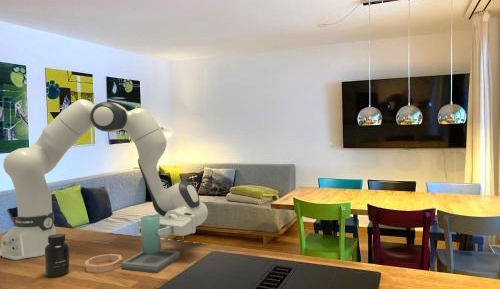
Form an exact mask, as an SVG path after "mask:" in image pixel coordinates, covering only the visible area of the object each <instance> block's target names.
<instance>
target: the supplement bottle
mask: <svg viewBox="0 0 500 289" xmlns="http://www.w3.org/2000/svg"><path fill="white" fill-rule="evenodd" d="M48 243H49V244H48V245H47V246H46V247H45V255H44V270H45V272H44V273H45V276H46V277H48V278H57V277H63V276H65V275H67V274H68V273H70V271H71V270H70V269H71V268H70V267H71V266H70V265H71V263H70V260H71V259H70V245H69V243H68V242H66V234H65V233H56V234H54V235H50V236H48Z"/></svg>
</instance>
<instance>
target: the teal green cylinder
mask: <svg viewBox="0 0 500 289" xmlns="http://www.w3.org/2000/svg"><path fill="white" fill-rule="evenodd" d="M159 217H160V215H153V214H152V215H145V216H142V217H140V219H141V233H140V234H141V236H140V237H141V252H143V253H147V254H150V253H156V252H159V251H160V250H162V244H161V241H162V240H161V235H156V230H157V229H160V218H159Z"/></svg>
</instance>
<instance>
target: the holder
mask: <svg viewBox="0 0 500 289" xmlns="http://www.w3.org/2000/svg"><path fill="white" fill-rule="evenodd" d="M108 261H109V263H105V264H98V263H104V262H108ZM84 262H85V264H84V265H85V271H86V272H87V273H96V274H99V273H105V272H111V271H115V270H116V269H118V268H120V267H121V263H122V262H124V261H123V257H122V255H121V254H115V253H107V254H105V253H104V254H100V255H95V256H92V257H90V258H88V259H86V260H85V261H84Z"/></svg>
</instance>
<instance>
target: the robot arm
mask: <svg viewBox="0 0 500 289" xmlns="http://www.w3.org/2000/svg"><path fill="white" fill-rule="evenodd" d="M93 127H95V128H96V129H97V130H99V131H101V132H107V133H115V132H116V133H117V132H122V131H125V132H127V134H128V135H129V136H130V138H131V139H132V142H133V143H134V145H135V148H136V149H137V154H138V159H137V163H138V164H137V165H138V167H139V170H140V173H141V175H142V178H143V180H144V183H145V185H146V187H147V189H148V193H149V195H150V198H151V201H152V202H151V203H152V206H153V209H154V211H155V212H156V213H157V214H158V215H159V218H160V229H157V230H156V235H160V236H162V235H173V236H178V237H179V236H180V237H184V236H188V235H192V234H195V233H196V229H197V228H196V227H198V226H200V225H202V224H203V223H204V222H205V221H206V220H207V218H208V215H209V209H208V207H207V205H206V204H205V203H204V202H202V201H201V200H200V195H199V193H198V192H199V191H198V190H197V187H196V186H195V185H194V184H193V183H192V182H190V181H187V180H181V181H179V182H177V183H175V184H173V185H172V186H169V187H168V188H165V187H164V184H163V182H162V180H161V178H160V175H159V172H158V170H157V169H158V168H157V167H158V162H159V160H160V159H161V158H162V156H163V155H164V153H165V151H166V149H167V139H166V136H165V134H164V132H163V130H162V128H160V125H159V123H158V122H157V121H156V120H155V118H154V117H153V116H152V115H151V113H150V112H149V111H148V110H147V109H146V108H144V107H137V108H136V107H135V108H133V109H132V110H128V109H127V108H126V107H125V106H123V105H121V104H119V103H116V102H111V101H102V102H99V103H96V104H94V103H93V102H91V101H90V100H88V99H84V98H80V99H77V100H76V101H74V102H72V103H71V104H70V105H68V106H67V107H65V108H64V109H63V110H62V111H61V112H60V113H58V115H56V117H54V119H53V120H51V121H50V122H49V123H48V124H47V125H46V126H45V127H44V128H43V129H42V131H41V132H42V133H41V134H40V136H39V138H38V139H37V141H36V142H34V144H32V145H30V146H29V147H21V148H17V149H15V150H13V151H11V152H10V153H8V154H7V155H6V156H5V158H4V159H3V170H4V172H5V173H6V174H7V175H8V176H9V177H10V179H11V182H12V185H13V187H14V191H15V196H16V203H17V216H15V217H13V219H12V222H14V226H13V227H11V229H9V231H7V232H6V233H5V234H4V235H3V236H2V237H1V241H0V257H1V256H2V258H5V259H8V260H9V259H10V260H13V261H17V260H23V259H27V258H36V257H41V256H45V247H46V246H47V245H48V244H49V243H48V236H50V235H54V234H57V233H56V232H57V231H56V227H55V224H54V223H55V222H54V221H55V214H54V211H53V201H52V200H53V199H52V191H51V189H50V188H49V186H48V184H47V181H46V178H45V175H46V174H48V173H50V172H52V171H53V169H55V168H56V167H57V165H58V163H60V161H61V159H62V158H63V157H64V156H65V154H66V153H67V152H68V150H69V149H71V148H72V147H73V145H75V144H76V143H77V141H78V140H79V139H81V138H82V137H83V136H84V135H85V134H86V133H87V132H88V131H89V130H90V129H91V128H93ZM137 227H138V233H139V234H141V218H139V220H137Z"/></svg>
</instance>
